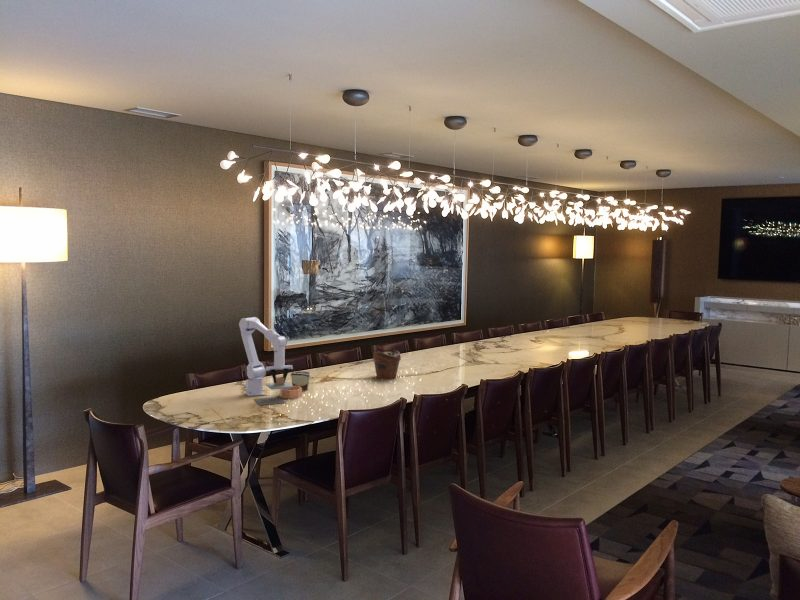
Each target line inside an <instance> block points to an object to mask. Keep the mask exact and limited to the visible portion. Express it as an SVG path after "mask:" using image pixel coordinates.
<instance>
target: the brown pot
mask: <svg viewBox="0 0 800 600" xmlns="http://www.w3.org/2000/svg"><path fill="white" fill-rule="evenodd" d="M372 359H373V363H374V368H375V375H376V378H378V379H382V380H384V379H385V380H391V379H392V380H393V379H395V378H397V374H398V369H399V365H400V361H401V359H402V357H401V352H400V351H398V350H394V349H390V350H387V351H383V352H382V351H377V350H376V351H374V352H373V358H372Z"/></svg>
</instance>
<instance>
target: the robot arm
mask: <svg viewBox="0 0 800 600" xmlns="http://www.w3.org/2000/svg"><path fill="white" fill-rule="evenodd" d="M238 326H239V330H240V335H241V339H242V343H243V346H244V349H245V350H244V351H245V353H246V357H247V360H248V365H246V375H247V378H248V379H246V380H245V394H246V396H247V397H253V396H263V395H264V396H265V395H266V393H265V392H264V378H265V376H266V374H267V372H268V371H269V372H270V374H271V377H272V381H273V383H276V377H277V371H278V370H279V371H280V370H282V377H284V383H285V382H286V381H287V380H286V379H287V377H288V374H289V371H290V370H293V369H294V368H293V366H294V365H293V364H287V365H285V361H286V358H285V354H286V349H285V348H286V346H287V344H288V339H287V338H286V337H285V336H284V335H280V334H279V333H277V332H276V331H275V329H272V328H270V329H268V328H267V327H266V326H265V325H264V324H263V323H262V322H261V320H260V319H259V318H258V317H257V316H253V317H246V318H245V317H243V318H241V319H240V320H239V322H238ZM256 330H257V331H259V332H260V333H262V334H263V335H264V338H265V339H266V340H268V342H271V345H272V347H273V354H274V355H273V365H271V366H264V363H263V362H261V361H259V357H258V354H257V349H256V347H255V343H254V339H253V336H252V334H253V333H254V332H255V331H256Z"/></svg>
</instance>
